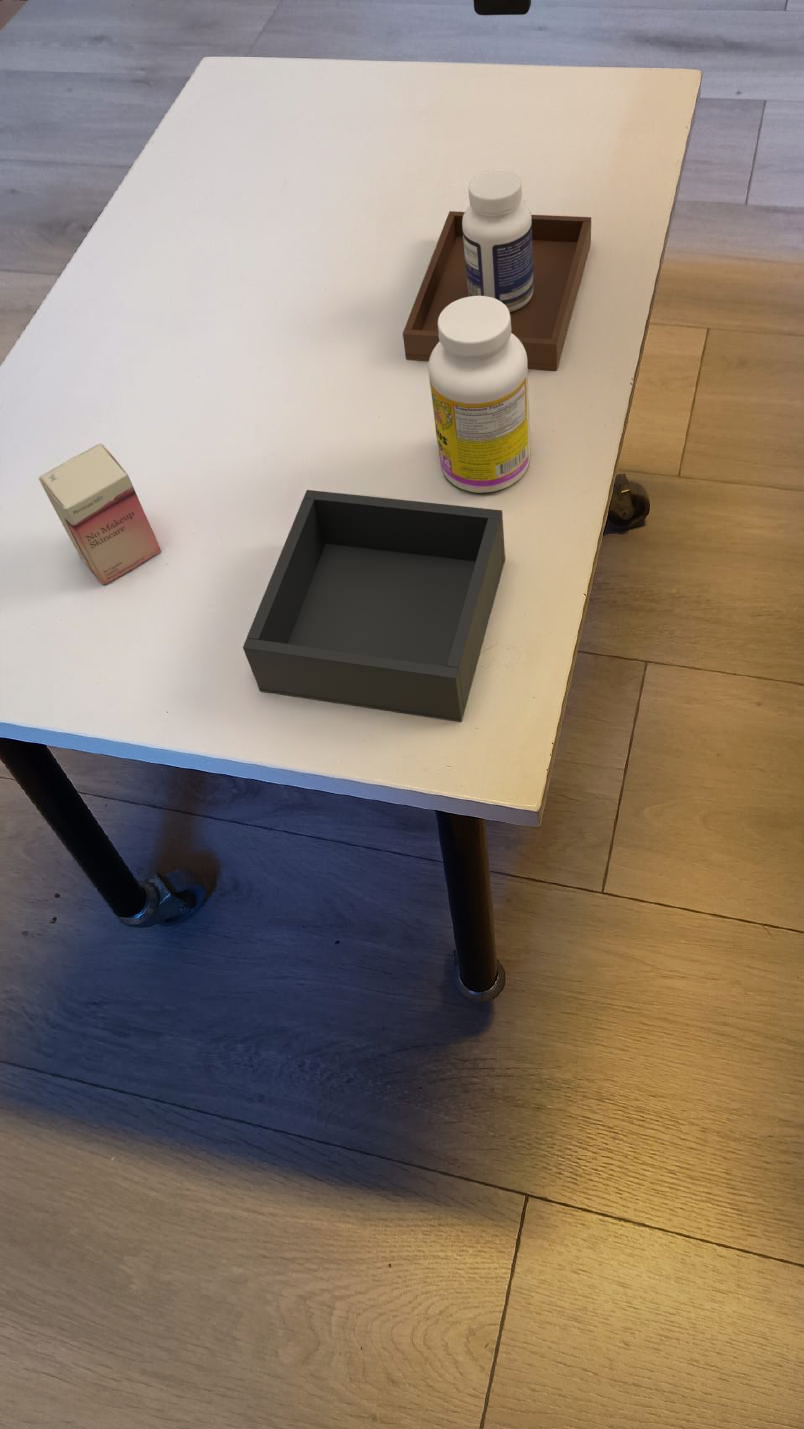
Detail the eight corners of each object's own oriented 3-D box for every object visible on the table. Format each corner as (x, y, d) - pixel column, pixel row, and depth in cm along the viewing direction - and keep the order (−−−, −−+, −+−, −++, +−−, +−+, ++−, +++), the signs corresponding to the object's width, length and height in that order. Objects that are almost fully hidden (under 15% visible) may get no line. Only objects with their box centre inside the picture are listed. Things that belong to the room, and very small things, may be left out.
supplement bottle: (446, 432, 84) (429, 284, 73) (533, 432, 83) (530, 283, 72) (435, 497, 80) (416, 352, 70) (526, 498, 79) (521, 351, 69)
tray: (451, 237, 97) (449, 210, 95) (590, 243, 95) (591, 216, 92) (405, 359, 89) (402, 333, 87) (556, 370, 86) (556, 344, 84)
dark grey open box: (319, 537, 80) (306, 489, 76) (505, 558, 77) (502, 509, 73) (259, 691, 73) (242, 647, 69) (461, 722, 70) (455, 678, 66)
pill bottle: (541, 278, 92) (539, 165, 84) (523, 319, 89) (520, 207, 81) (478, 271, 93) (471, 160, 85) (459, 312, 91) (450, 201, 83)
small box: (103, 587, 79) (63, 510, 73) (77, 554, 82) (35, 476, 75) (164, 552, 81) (129, 473, 74) (136, 519, 83) (100, 439, 76)
